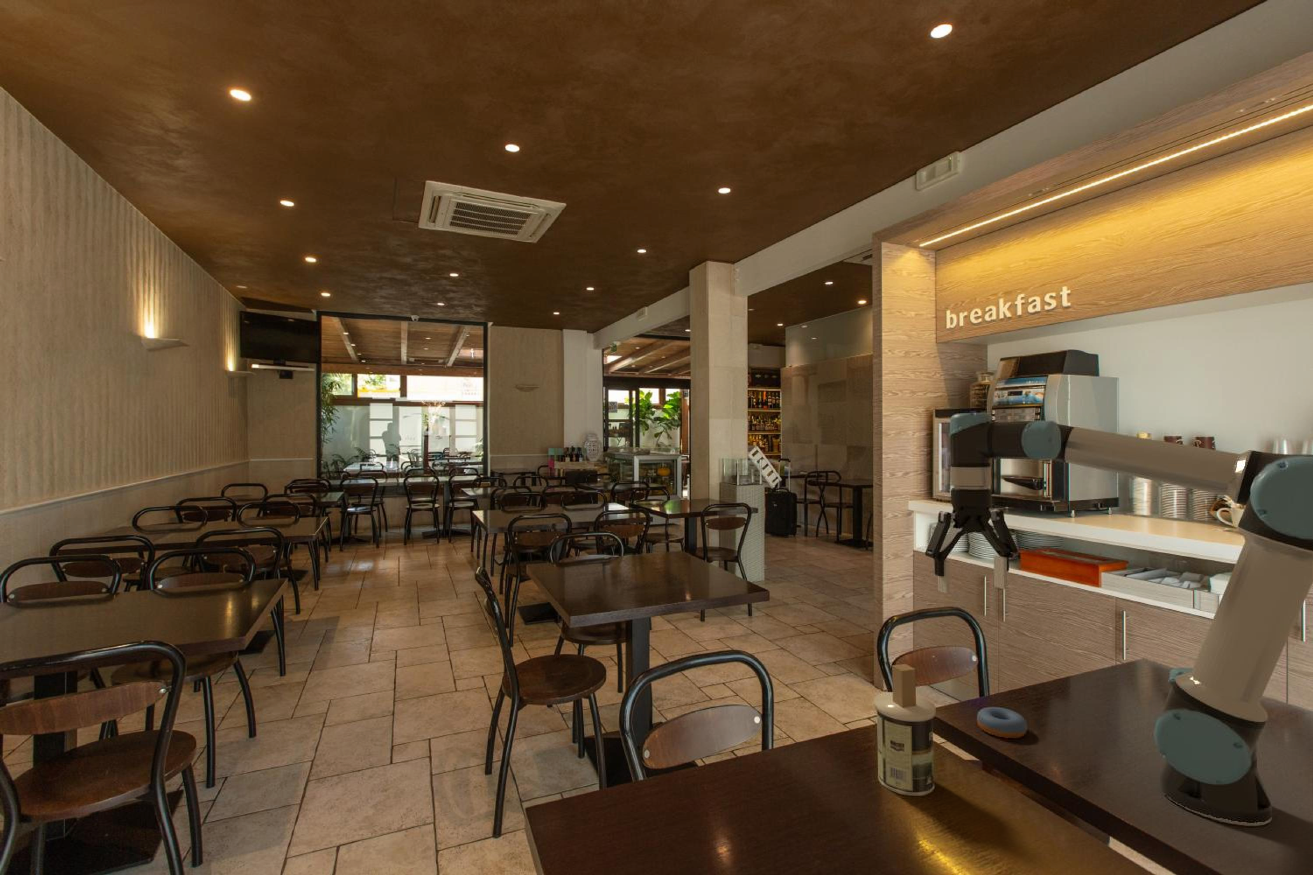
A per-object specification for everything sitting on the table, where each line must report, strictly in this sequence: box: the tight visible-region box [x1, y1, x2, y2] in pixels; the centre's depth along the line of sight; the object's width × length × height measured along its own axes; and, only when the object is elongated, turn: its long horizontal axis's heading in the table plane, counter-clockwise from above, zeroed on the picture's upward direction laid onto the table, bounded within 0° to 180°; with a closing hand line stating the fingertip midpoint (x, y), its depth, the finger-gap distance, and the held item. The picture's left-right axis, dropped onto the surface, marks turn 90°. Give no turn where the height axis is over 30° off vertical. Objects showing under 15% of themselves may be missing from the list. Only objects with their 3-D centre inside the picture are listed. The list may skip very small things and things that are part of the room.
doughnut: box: [976, 706, 1028, 739], centre depth 141 cm, size 10×10×5 cm
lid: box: [873, 663, 936, 722], centre depth 120 cm, size 11×11×8 cm
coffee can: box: [876, 710, 935, 797], centre depth 120 cm, size 10×10×14 cm
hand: (972, 589), depth 129 cm, fingers open, 13 cm apart
